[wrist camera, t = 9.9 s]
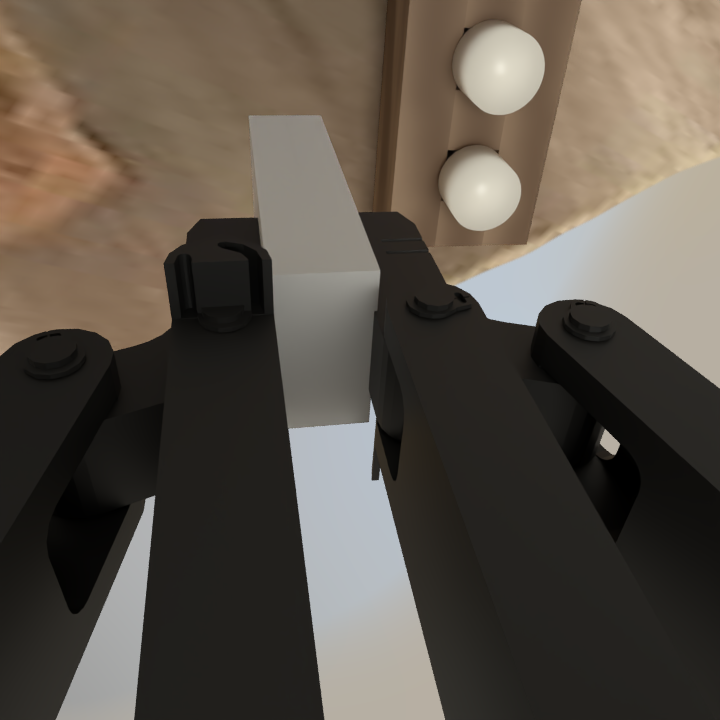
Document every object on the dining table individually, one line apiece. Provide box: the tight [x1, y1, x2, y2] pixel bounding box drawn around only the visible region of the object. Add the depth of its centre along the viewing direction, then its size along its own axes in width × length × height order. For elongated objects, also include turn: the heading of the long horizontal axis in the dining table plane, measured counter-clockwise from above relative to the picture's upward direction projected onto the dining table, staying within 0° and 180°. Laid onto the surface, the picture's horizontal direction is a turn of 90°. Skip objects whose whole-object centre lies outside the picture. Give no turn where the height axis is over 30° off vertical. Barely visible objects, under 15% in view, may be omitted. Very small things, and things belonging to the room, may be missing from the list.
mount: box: [373, 0, 582, 247], centre depth 41 cm, size 10×24×6 cm, turn 177°
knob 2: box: [438, 145, 521, 231], centre depth 43 cm, size 4×4×9 cm
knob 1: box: [452, 19, 545, 115], centre depth 39 cm, size 4×4×9 cm
